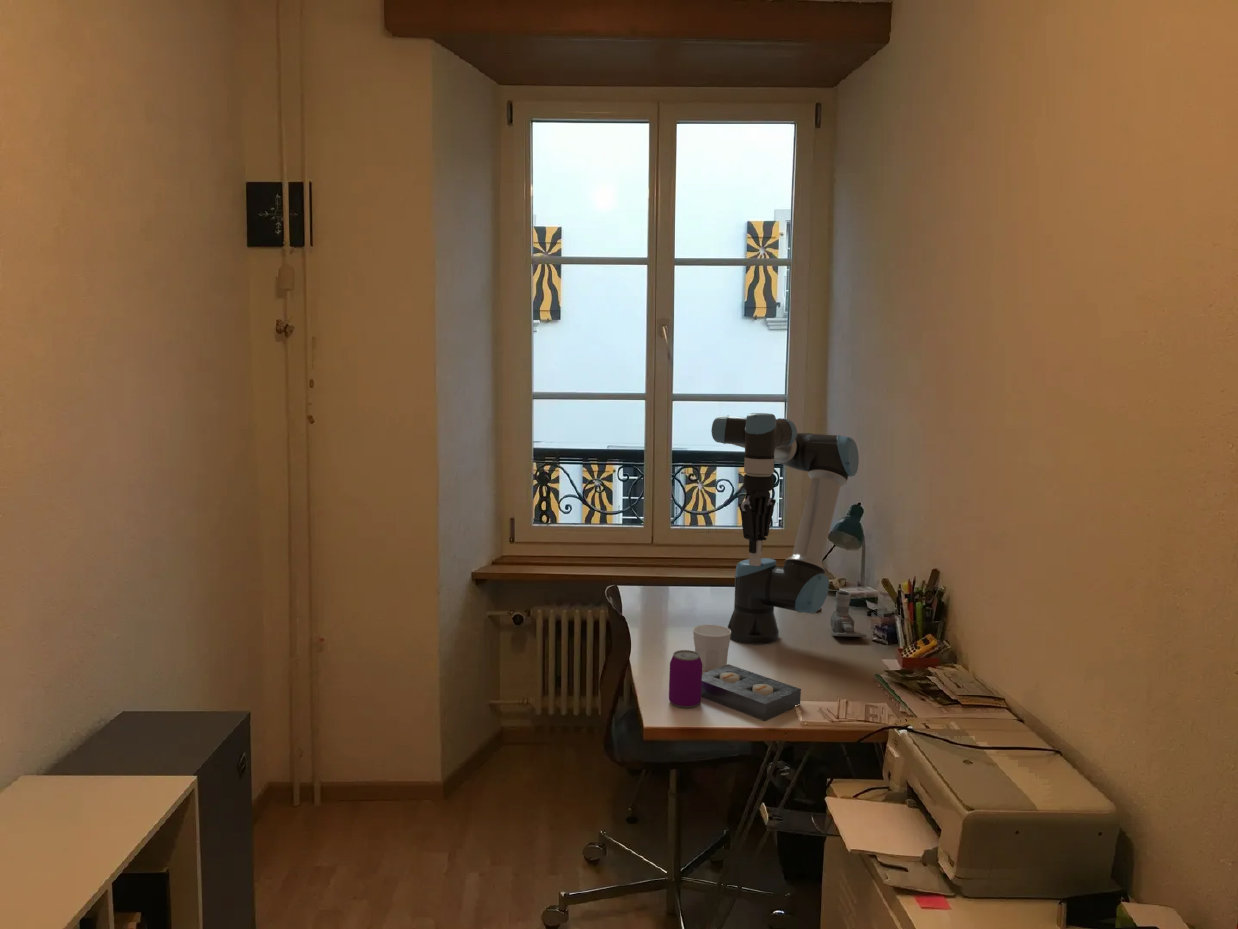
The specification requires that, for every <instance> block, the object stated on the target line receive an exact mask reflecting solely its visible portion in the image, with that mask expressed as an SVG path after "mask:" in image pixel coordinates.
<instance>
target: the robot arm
mask: <svg viewBox="0 0 1238 929" xmlns="http://www.w3.org/2000/svg"><path fill="white" fill-rule="evenodd" d="M711 437H712V439H713V440H714V442H716V443H719V444H720V443H721V444H723V445H734V446H737V447H739V448H743V449H744V463H743V464H744V467H743V472H744V473H745V474H744V475H743V481H742V482H743V486H742V487H743V489H744V490H745V491H746V493H745V496H744V501H743V502H740V503H738V509H739V511H740V517H741V526H742V533H743V534H742V535H743V536H742V537H743V539H745V540H748V541H749V542H748V558H747V559H744V560H741V561H739V562H738V563H737V564H736V567H735V575H734V603H733V604H734V607H733V610H732V611H733V612H732V614H731V617H730V620H729V621H728V622H729V623H728V625H727V626H726V628H728V629H730V630H731V636H730V640H733V641H736V642H739V643H743V644H748V645H749V644H750V645H765V644H772V643H774V642H777V641H778V640H779V636H780V630H779V627H778V623H777V620H776V616H775V608H780V609H785V610H790V611H795V612H797V613H799V614H801V613H805V614H814V613H817V612H818V611H819V610H820V609H821V608H822V607H823V606H824V603H825V602H826V599H827V596H828V594H829V591H830V590H829V589H830V587H829V586H830V580H829V577H828V576H827V574H825V573H826V569H825V568H824V566H823V558H824V555H825V550H826V546H827V541H828V537H829V534H830V530H831V526H832V522H833V518H834V513H835V509H836V506H837V501H838V497H839V494H840V489H841V487H843V486H845V485H847V482H848V480H849V477H854V476H855V475H856V474H857V473H858V469H859V464H860V462H859V458H860V457H859V450H858V446H857V445H858V444H857V443H856V441H855V439H853V438H852V437H850V436H845V435H840V434H837V435H836V434H835V435H834V434H823V433H821V434H820V433H809V432H798V430H797V426H796V425H795V423H794V422H793V421H791V419H788V418H785V417H784V418H782V417H781V418H776V416H775V414H773V413H769V412H768V413H767V412H765V413H763V412H753V413H749V414H748V415H747V416H745V417H744V416H732V415H729V414H728V415H719V416H716V417H715V418H714V419H713V422H712V425H711ZM775 463H777V464H780V465H783V466H786V467H789V468H790V469H794V470H797V471H801V472H807V476H808V478H809V479H810V483H809V488H808V491H807V496H806V498H805V499H806V500H805V503H804V507H803V512H802V515H801V519H800V523H799V526H798V530H797V534H796V538H795V542H794V546H793V550H792V553H791V556H789V557H787V558H786V559H784V563H783V566H779V565H778V566H777V564H778V563H777V561H776V559H773V558H768V557H762V551H763V541H767V539H768V538H767V537H768V536H769V532H770V529H771V528H770V527H771V523H772V522H771V521H772V517H773V512H774V507H775V505H776V503H777V501H776V499H773V498H772V497H771V493H770V492H771V491H772V490H773V489H774V476H773V474H774V473H775Z"/></svg>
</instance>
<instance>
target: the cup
mask: <svg viewBox="0 0 1238 929" xmlns="http://www.w3.org/2000/svg"><path fill="white" fill-rule="evenodd" d="M692 631H693V632H692V633H693V643H694V644H693V645H694V651H695V652H697V653H699V655H700V659H701V662H702V669H703V670H702V671H703V672H708V671H711V670H714V669H716V668H719V667H722V666H725V665H727V664H728V663H727V662H728V655H729V653H728V652H729V648H730V641H731V638H730V636H731V630H730V629H728V628H727V626H724V625H723V626H722V625H718V624H700V625H699V624H698V625H697V626H694V627H693V629H692Z"/></svg>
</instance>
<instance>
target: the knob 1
mask: <svg viewBox="0 0 1238 929" xmlns="http://www.w3.org/2000/svg"><path fill="white" fill-rule="evenodd" d="M739 678H740V676H739V675H738V674H736V673H731V672H725V673H721V674H720V680H723V681H725V682H728V683H731V684H732V683H735V682H737V681H739Z"/></svg>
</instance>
